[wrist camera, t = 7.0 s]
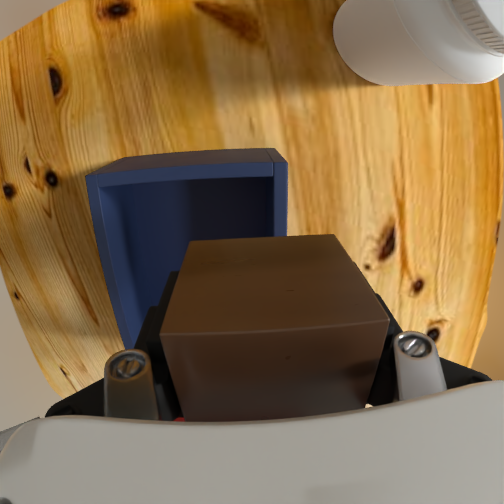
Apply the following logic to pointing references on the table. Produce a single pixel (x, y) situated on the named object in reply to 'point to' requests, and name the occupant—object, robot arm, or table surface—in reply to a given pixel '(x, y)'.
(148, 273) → the box
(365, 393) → the block
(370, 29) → the pill bottle
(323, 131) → the table surface
